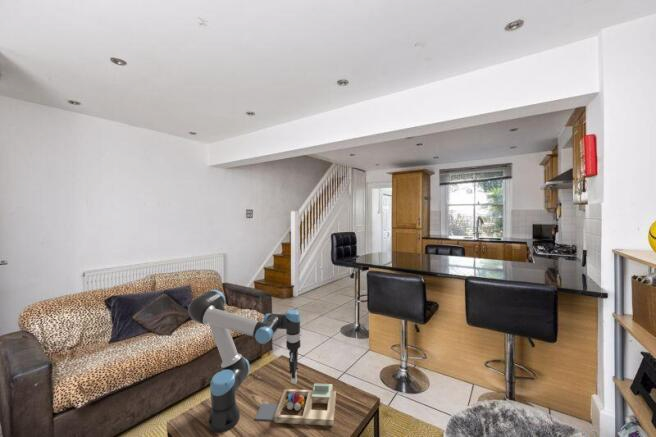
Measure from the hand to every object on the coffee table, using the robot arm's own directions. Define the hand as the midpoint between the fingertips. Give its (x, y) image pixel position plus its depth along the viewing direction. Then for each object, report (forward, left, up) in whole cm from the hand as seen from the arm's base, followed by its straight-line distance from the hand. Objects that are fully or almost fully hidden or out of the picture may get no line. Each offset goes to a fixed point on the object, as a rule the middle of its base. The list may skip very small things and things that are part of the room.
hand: (294, 382), depth 148 cm
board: (+7, +2, -14) cm, 16 cm away
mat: (-13, -5, -14) cm, 20 cm away
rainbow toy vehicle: (0, +1, -14) cm, 14 cm away
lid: (+14, +9, -11) cm, 20 cm away
